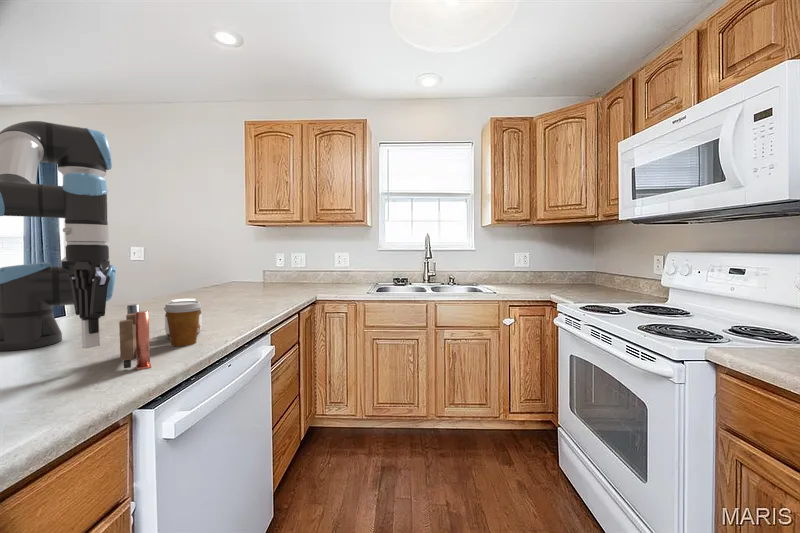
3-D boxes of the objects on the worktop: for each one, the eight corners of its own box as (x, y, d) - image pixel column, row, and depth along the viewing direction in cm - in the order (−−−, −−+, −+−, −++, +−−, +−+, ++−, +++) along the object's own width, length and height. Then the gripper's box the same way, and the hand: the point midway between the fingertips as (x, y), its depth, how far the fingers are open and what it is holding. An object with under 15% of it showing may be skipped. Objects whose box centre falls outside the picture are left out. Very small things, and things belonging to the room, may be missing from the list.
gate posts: (128, 354, 99) (126, 305, 99) (145, 351, 102) (144, 303, 101) (131, 370, 86) (129, 313, 85) (151, 367, 88) (149, 312, 88)
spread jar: (182, 341, 113) (181, 302, 113) (150, 339, 116) (149, 301, 115) (210, 332, 125) (209, 297, 125) (180, 331, 127) (179, 296, 127)
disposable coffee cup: (192, 338, 117) (191, 299, 116) (208, 342, 111) (207, 302, 111) (158, 344, 109) (157, 303, 109) (174, 349, 104) (173, 306, 103)
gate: (120, 369, 85) (119, 322, 85) (128, 355, 97) (127, 313, 96) (132, 368, 86) (131, 321, 86) (139, 354, 98) (137, 312, 97)
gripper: (52, 243, 85) (56, 346, 86) (82, 244, 79) (86, 355, 80) (92, 243, 91) (95, 339, 93) (122, 244, 86) (125, 346, 87)
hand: (91, 346), depth 87 cm, fingers closed
